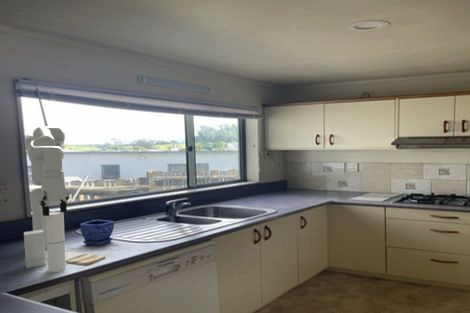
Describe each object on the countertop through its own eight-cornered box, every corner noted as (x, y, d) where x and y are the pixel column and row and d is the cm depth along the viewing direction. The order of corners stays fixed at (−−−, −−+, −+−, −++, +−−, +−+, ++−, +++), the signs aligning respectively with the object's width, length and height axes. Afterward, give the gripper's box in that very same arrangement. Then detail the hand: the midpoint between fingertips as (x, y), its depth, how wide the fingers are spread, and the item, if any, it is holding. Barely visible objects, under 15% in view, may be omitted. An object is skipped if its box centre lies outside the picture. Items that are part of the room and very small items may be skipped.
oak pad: (67, 262, 191) (67, 260, 191) (85, 255, 202) (85, 253, 202) (87, 265, 186) (87, 263, 186) (105, 258, 197) (105, 256, 197)
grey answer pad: (46, 260, 196) (46, 258, 196) (65, 253, 207) (65, 251, 207) (65, 262, 191) (65, 260, 191) (84, 255, 202) (84, 253, 202)
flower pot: (96, 239, 234) (95, 219, 233) (115, 241, 229) (114, 220, 229) (79, 245, 221) (79, 223, 221) (100, 247, 217) (99, 225, 216)
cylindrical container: (50, 273, 176) (47, 215, 175) (46, 269, 182) (44, 213, 181) (67, 269, 180) (65, 213, 179) (63, 265, 186) (61, 211, 185)
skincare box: (45, 261, 193) (43, 229, 192) (45, 265, 187) (44, 231, 186) (25, 264, 189) (23, 231, 188) (25, 268, 183) (23, 234, 182)
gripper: (62, 173, 189) (63, 210, 189) (30, 176, 173) (32, 216, 173) (74, 173, 186) (76, 210, 186) (43, 176, 170) (45, 217, 170)
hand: (54, 213), depth 180 cm, fingers open, 9 cm apart
